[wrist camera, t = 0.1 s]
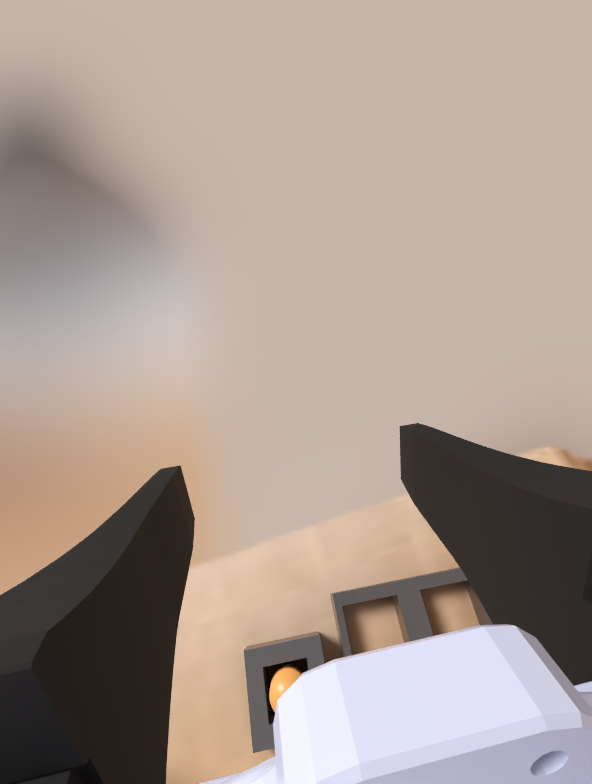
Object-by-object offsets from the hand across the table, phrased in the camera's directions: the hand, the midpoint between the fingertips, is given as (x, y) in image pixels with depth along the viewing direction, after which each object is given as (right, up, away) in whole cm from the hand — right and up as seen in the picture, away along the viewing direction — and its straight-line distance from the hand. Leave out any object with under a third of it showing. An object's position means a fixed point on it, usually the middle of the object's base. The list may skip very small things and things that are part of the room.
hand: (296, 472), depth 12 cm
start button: (-1, -24, +22) cm, 32 cm away
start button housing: (-1, -25, +23) cm, 34 cm away
